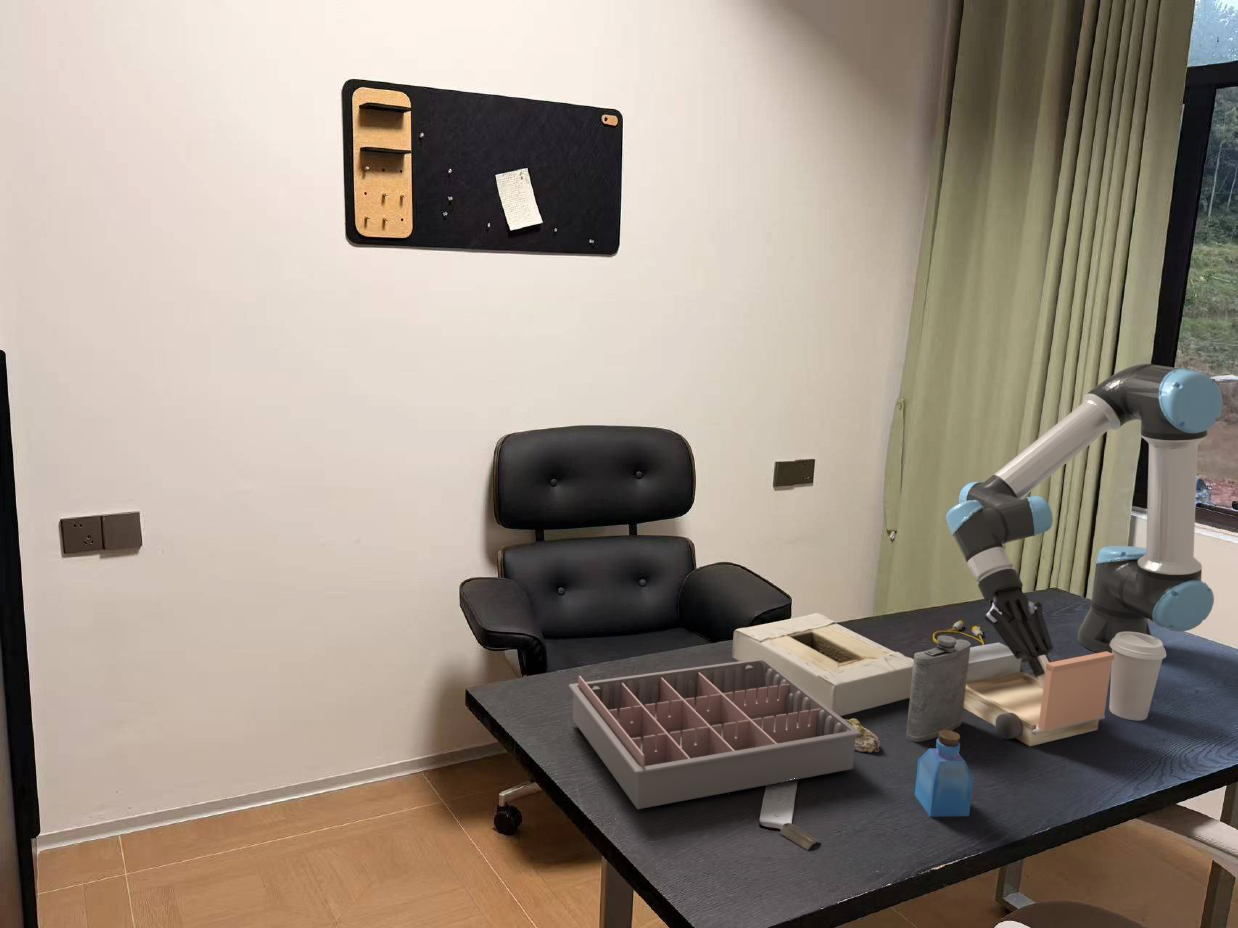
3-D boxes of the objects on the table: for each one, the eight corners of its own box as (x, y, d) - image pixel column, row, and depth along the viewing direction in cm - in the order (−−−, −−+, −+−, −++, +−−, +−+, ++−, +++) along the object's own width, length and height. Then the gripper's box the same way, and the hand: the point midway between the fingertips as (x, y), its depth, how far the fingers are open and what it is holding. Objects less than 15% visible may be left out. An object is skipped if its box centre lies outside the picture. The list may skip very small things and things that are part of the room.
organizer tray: (858, 777, 160) (863, 722, 158) (633, 821, 146) (636, 760, 144) (762, 695, 189) (765, 647, 187) (566, 725, 175) (568, 673, 173)
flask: (968, 724, 180) (979, 633, 176) (919, 745, 171) (929, 649, 168) (951, 717, 183) (961, 626, 179) (902, 736, 174) (912, 642, 170)
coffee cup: (1163, 727, 181) (1175, 651, 178) (1108, 720, 183) (1119, 646, 180) (1147, 704, 190) (1158, 632, 187) (1094, 699, 192) (1104, 627, 189)
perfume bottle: (914, 794, 155) (921, 725, 153) (952, 794, 156) (960, 725, 153) (929, 816, 149) (937, 744, 147) (968, 816, 150) (977, 744, 147)
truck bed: (926, 692, 193) (930, 654, 191) (1005, 676, 201) (1010, 640, 200) (1020, 748, 171) (1026, 706, 170) (1105, 727, 180) (1111, 687, 179)
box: (923, 697, 192) (813, 640, 219) (926, 661, 190) (815, 607, 217) (834, 724, 180) (730, 660, 207) (838, 686, 178) (732, 626, 205)
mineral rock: (814, 723, 174) (845, 702, 177) (816, 743, 175) (847, 721, 179) (860, 751, 165) (892, 727, 169) (862, 771, 167) (893, 747, 171)
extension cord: (1006, 643, 221) (1007, 635, 220) (962, 657, 212) (963, 648, 212) (961, 626, 231) (962, 618, 230) (917, 638, 222) (918, 630, 221)
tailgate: (1031, 733, 172) (1041, 663, 169) (1100, 717, 179) (1110, 650, 176) (1039, 737, 170) (1049, 667, 167) (1108, 721, 177) (1118, 653, 174)
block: (807, 858, 140) (807, 848, 139) (775, 837, 144) (775, 827, 143) (823, 847, 142) (823, 836, 141) (791, 826, 146) (791, 816, 146)
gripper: (1008, 581, 194) (1066, 693, 182) (958, 588, 188) (1014, 704, 177) (1032, 563, 188) (1094, 678, 177) (981, 570, 183) (1041, 689, 171)
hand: (1054, 691), depth 177 cm, fingers closed
